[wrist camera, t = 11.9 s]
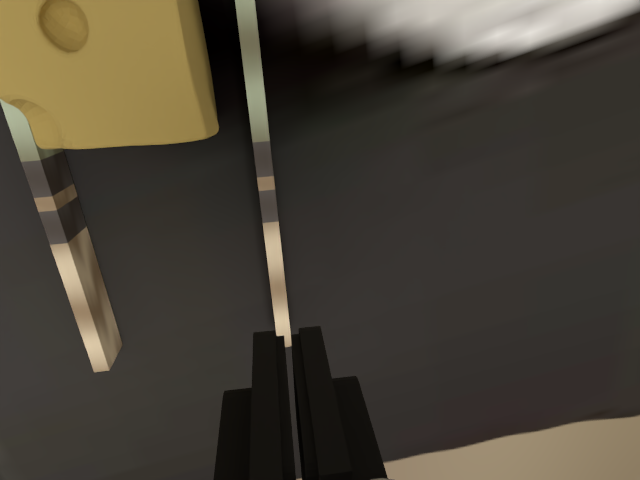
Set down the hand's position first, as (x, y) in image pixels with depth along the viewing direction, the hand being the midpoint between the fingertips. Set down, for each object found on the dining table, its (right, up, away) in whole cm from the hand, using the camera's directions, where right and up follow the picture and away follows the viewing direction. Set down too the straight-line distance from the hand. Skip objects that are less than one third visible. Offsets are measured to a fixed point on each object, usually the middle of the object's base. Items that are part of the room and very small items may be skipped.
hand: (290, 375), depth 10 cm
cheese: (-12, +17, +18) cm, 28 cm away
